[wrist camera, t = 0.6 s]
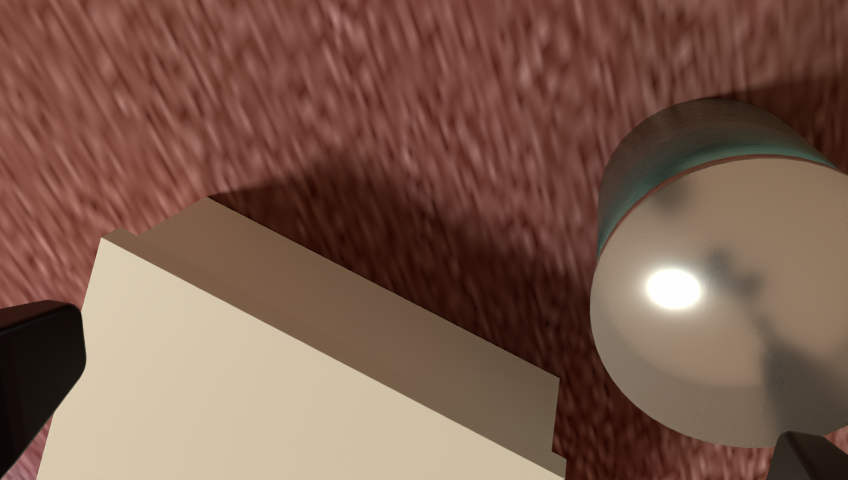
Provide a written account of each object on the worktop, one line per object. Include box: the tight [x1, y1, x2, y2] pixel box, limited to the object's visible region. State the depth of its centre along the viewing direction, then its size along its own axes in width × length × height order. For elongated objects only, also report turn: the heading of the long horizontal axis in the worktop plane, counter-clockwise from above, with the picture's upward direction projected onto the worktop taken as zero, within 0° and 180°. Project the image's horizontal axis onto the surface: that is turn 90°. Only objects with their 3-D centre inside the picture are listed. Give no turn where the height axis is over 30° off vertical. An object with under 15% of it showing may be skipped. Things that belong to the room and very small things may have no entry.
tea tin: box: [590, 98, 848, 448], centre depth 17 cm, size 6×6×7 cm
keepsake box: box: [36, 197, 566, 480], centre depth 23 cm, size 13×13×5 cm
